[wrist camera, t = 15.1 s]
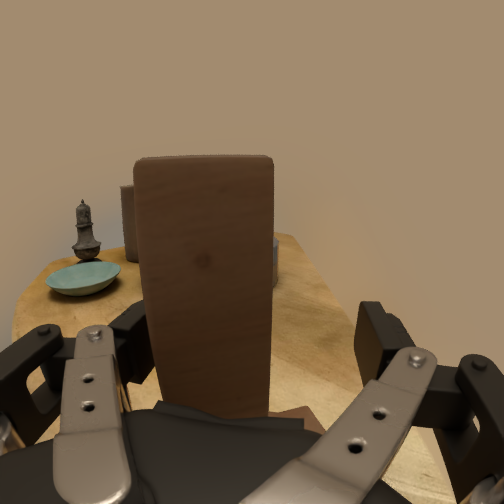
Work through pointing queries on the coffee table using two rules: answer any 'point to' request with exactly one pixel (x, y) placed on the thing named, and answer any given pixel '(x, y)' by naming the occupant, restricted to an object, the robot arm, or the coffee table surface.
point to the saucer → (83, 278)
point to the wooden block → (210, 280)
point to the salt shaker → (85, 236)
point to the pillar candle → (129, 223)
